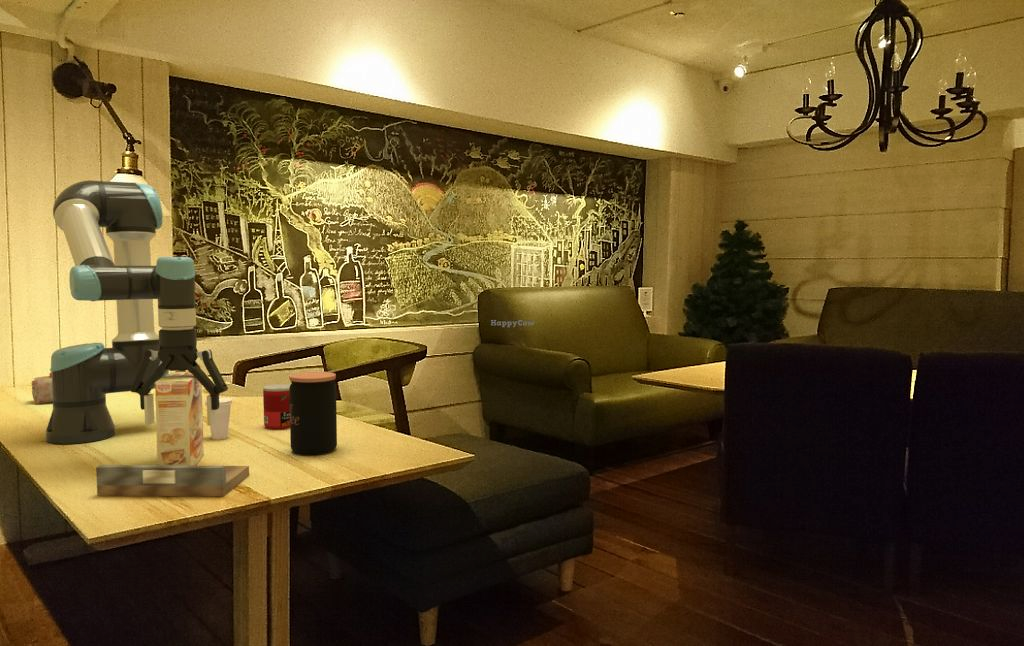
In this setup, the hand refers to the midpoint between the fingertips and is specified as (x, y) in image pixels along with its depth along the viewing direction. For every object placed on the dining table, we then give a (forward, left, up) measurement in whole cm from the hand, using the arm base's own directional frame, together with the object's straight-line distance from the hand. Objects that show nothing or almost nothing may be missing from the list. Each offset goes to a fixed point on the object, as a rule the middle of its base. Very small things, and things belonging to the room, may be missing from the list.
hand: (180, 424), depth 165 cm
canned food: (+10, +37, -9) cm, 39 cm away
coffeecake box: (0, 0, -9) cm, 9 cm away
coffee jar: (+26, +12, -9) cm, 30 cm away
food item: (-71, +72, -9) cm, 101 cm away
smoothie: (-1, +24, -9) cm, 26 cm away
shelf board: (+6, -16, -9) cm, 19 cm away
